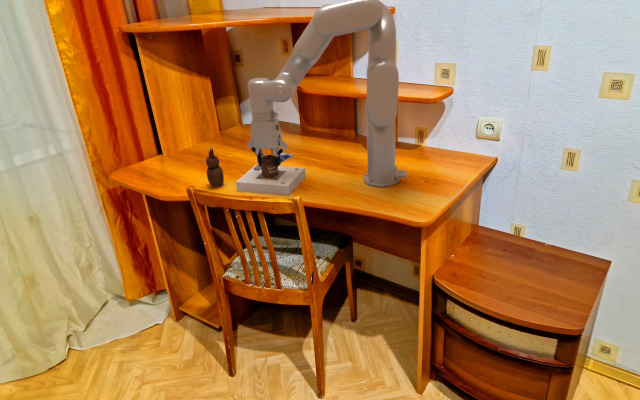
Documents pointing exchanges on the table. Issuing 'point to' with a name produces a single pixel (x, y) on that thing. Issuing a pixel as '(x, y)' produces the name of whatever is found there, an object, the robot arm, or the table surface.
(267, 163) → the utensil holder
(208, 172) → the wooden figurine
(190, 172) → the table surface
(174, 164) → the table surface
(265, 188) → the socket block
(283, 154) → the smartphone
